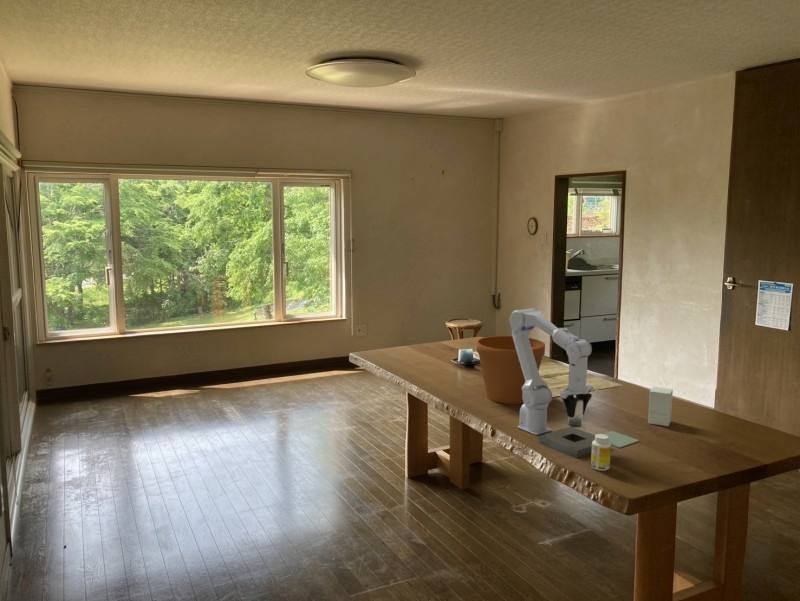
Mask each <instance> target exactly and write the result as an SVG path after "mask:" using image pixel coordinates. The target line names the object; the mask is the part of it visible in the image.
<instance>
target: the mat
mask: <svg viewBox="0 0 800 601" xmlns="http://www.w3.org/2000/svg"><path fill="white" fill-rule="evenodd" d="M603 434H604V435H607V436H608V437H609V442H610V444H611V447H612V446H613V447H615V448H618V449H621V448H624V447H627V446H630V445H633V444H636V443H639V442H640V439H638V438H634V437H631V436H628V435H625V434H622V433H619V432H617V431H614V430H610V431H607V432H605V433H603Z"/></svg>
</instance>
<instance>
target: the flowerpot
mask: <svg viewBox="0 0 800 601" xmlns="http://www.w3.org/2000/svg"><path fill="white" fill-rule="evenodd" d="M529 341H530V344H531V348H532V351H533V354H534V358H535V361H536V365H537V368H538V371H540V367H541V363H542V360H543V356H545V354H546V342H544V341H542V340H539V339H535V338H532V337H529ZM476 352H477V353H478V357H479V358H478V359H479V363H480V368H481V373H482V377H483V378H482V379H483V382H484V388H485V392H486V393H485V394H486V398H487V399H488V400H490V401H493V402H496V403H498V404H499V403H500V404H506V405H517V404H518V405H519V404H524V402H523V398H522V396H523V393H522V387H523V385H524V384H525V378H524V375H523V371H522V368H521V364H520V361H519V357H518V354H517V351H516V347H515V344H514V340H513V337H512V335H493V336H492V335H491V336H486V337H481V338H479V339H477V340H476ZM533 389H535V387H533Z"/></svg>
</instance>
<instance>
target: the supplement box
mask: <svg viewBox="0 0 800 601" xmlns="http://www.w3.org/2000/svg"><path fill="white" fill-rule="evenodd" d="M673 391H674V390H673V388H667V387H659V386H652V387H651V389H650V390H649V397H648V399H649V401H648V417H647V423H648V424H651V425H655V426H656V425H657V426H663V427H669V426H670V424H671V421H672V409H673V408H672V406H673V393H674V392H673Z"/></svg>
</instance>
